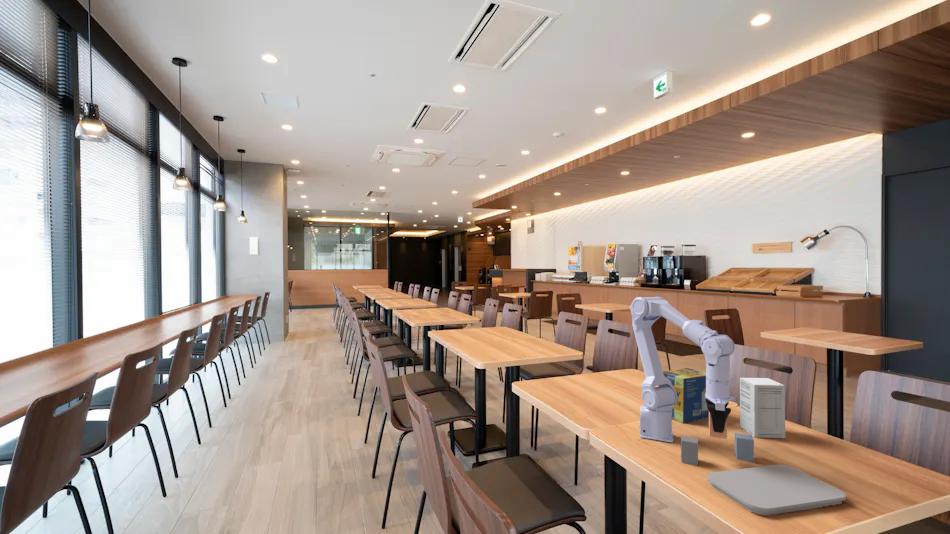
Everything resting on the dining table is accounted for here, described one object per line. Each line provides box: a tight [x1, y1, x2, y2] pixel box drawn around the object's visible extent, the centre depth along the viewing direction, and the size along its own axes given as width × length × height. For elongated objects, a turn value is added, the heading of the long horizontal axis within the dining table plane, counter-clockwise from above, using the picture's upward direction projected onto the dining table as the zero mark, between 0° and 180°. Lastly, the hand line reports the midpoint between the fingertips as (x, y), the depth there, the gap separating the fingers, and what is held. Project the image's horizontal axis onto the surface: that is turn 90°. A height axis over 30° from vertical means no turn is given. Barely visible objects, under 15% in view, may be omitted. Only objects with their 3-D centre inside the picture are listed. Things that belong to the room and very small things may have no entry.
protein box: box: [663, 367, 709, 424], centre depth 153 cm, size 10×15×16 cm
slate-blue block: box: [734, 432, 755, 463], centre depth 119 cm, size 4×4×6 cm
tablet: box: [706, 464, 846, 516], centre depth 100 cm, size 16×26×2 cm, turn 103°
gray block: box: [680, 435, 699, 466], centre depth 116 cm, size 4×4×6 cm
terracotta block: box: [708, 412, 728, 440], centre depth 116 cm, size 4×4×6 cm
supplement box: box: [739, 377, 786, 439], centre depth 137 cm, size 10×9×17 cm
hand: (717, 429), depth 116 cm, fingers closed on terracotta block, 4 cm apart
